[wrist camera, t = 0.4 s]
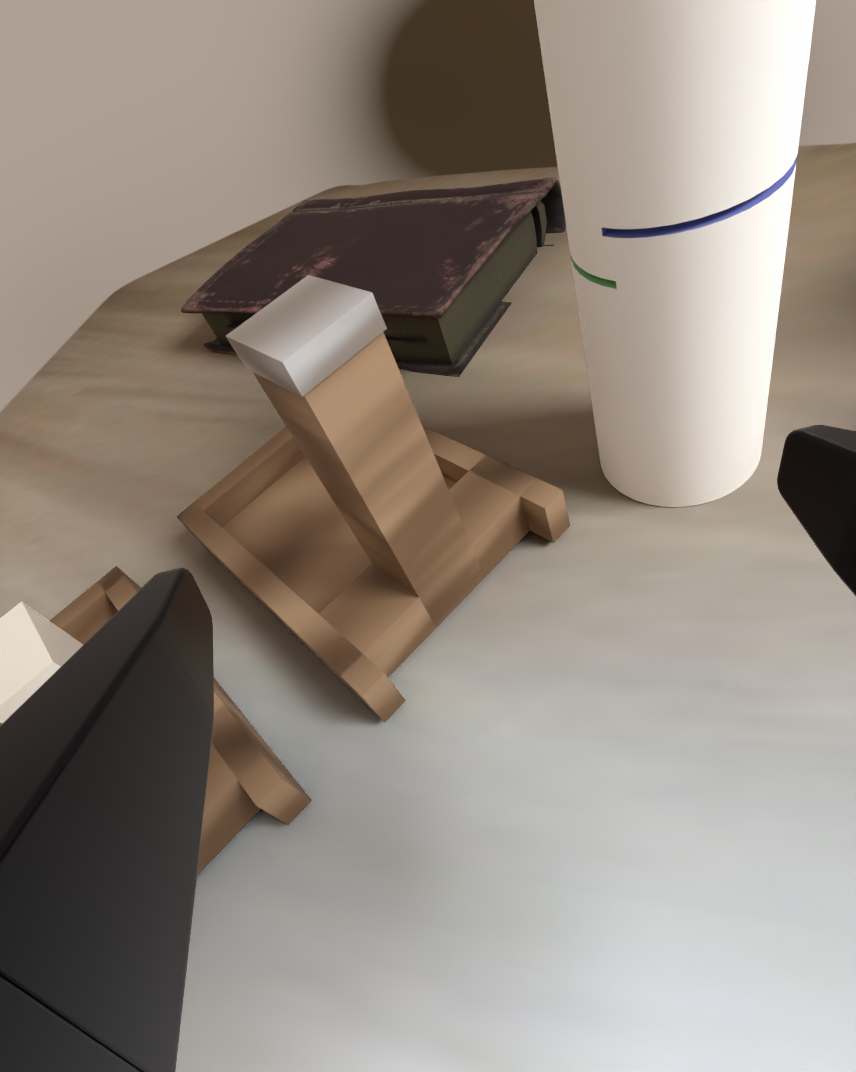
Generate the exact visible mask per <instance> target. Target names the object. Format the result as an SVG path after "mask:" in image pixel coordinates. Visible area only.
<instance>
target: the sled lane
mask: <svg viewBox="0 0 856 1072" xmlns="http://www.w3.org/2000/svg"><path fill="white" fill-rule="evenodd" d="M140 589H141V587H140V586H139V585H137V584H136V583H135V582H134V581H133V580H132V579H131V578H129V577H128V576H127V575H126V574H125V573H124V572H123V571H122V570H120V569H119V568H118V567H117V566H116V567H115V568H113V569H112V570H111V571H110V572H109V573H107V574H106V575H105V576H104V577H102V578H101V579H100V580H99V581H98V582H96V583H95V584H94V585H93V586H91V587H90V588H89V589H88V590H87V591H85V592H84V593H83V594H82V595H80V596H79V597H78V598H77V599H76V600H74V601H73V602H72V603H71V604H69V605H68V606H67V607H66V608H65V609H63V610H62V611H61V612H60V613H58V614H57V615H56V616H55V617H54V618H52V619H51V620H50V622H52V623H53V624H55V625H56V626H58V627H59V628H60V629H62V630H63V631H65V632H66V633H68V634H69V635H70V636H72V637H73V638H75V639H76V640H78V641H79V642H80V643H82V644H83V645H84V644H85V643H86V642H87V641H88V640H89V639H90V638H91V637H92V636H93V635H94V634H95V633H96V632H97V631H98V630H99V629H100V628H101V627H102V626H103V625H104V624H105V623H106V622H107V621H108V620H110V619H111V618H112V617H113V616H114V615H115V614H116V613H117V612H118V611H119V610H120V609H121V608H122V607H123V606H124V605H125V604H126V603H127V602H128V601H129V600H130V599H131V598H132V597H133V596H134V595H135V594H136V593H137V592H138V591H139V590H140ZM2 724H3V723H1V722H0V725H2ZM310 801H311V799H310V798H309V797H308V795H307V794H306V793H305V792H304V790H303V789H302V788H301V787H300V785H299V784H298V783H297V781H296V780H295V779H294V778H293V776H292V775H291V774H290V773H289V771H288V770H287V769H286V768H285V766H284V765H283V764H282V763H281V761H280V760H279V759H278V758H277V756H276V755H275V754H274V753H273V751H272V750H271V749H270V748H269V746H268V745H267V744H266V743H265V741H264V740H263V739H262V738H261V736H260V735H259V734H258V732H257V731H256V730H255V729H254V727H253V726H252V725H251V724H250V722H249V721H248V720H247V719H246V717H245V716H244V715H243V714H242V712H241V711H240V710H239V709H238V707H237V706H236V705H235V704H234V702H233V701H232V700H231V699H230V697H229V696H228V695H227V694H226V692H225V691H224V690H223V689H222V687H221V686H220V685H219V683H218V682H217V681H216V680H215V678H214V720H213V732H212V741H211V750H210V759H209V769H208V778H207V787H206V796H205V805H204V814H203V823H202V832H201V841H200V851H199V860H198V869H197V875H198V874H199V873H200V872H201V871H202V870H203V869H204V868H205V866H206V865H207V864H208V863H209V862H210V861H211V860H212V859H213V858H214V857H215V856H216V855H217V854H218V853H219V852H220V851H221V850H222V849H223V848H224V847H225V846H226V845H227V844H228V843H229V842H230V841H231V840H232V839H233V838H234V836H235V835H236V834H237V833H238V832H239V831H240V830H241V829H242V828H243V827H244V826H245V825H246V824H247V823H248V822H249V821H250V820H251V819H252V818H253V817H254V816H255V815H256V814H257V813H258V812H259V811H260V810H261V809H262V810H264V811H265V812H267V813H269V814H270V815H272V816H274V817H275V818H277V819H279V820H280V821H282V822H284V823H285V824H287V825H289V824H290V823H291V821H292V820H293V819H294V818H295V817H296V816H297V815H298V814H299V813H300V812H301V811H302V810H303V809H304V808H305V807H306V806H307V804H308V803H309V802H310Z"/></svg>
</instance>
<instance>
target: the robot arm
mask: <svg viewBox="0 0 856 1072" xmlns="http://www.w3.org/2000/svg"><path fill="white" fill-rule="evenodd" d="M777 484H778V489H779V491H780V494H781V495H782V497H783V498H784V500H785V501H786V503H787V504H788V506H789V507H790V508H791V510H792V511H793V513H794V514H795V516H796V517H797V519H798V520H799V521H800V523H801V524H802V526H803V527H804V529H805V530H806V532H807V533H808V534H809V536H810V537H811V539H812V540H813V542H814V543H815V545H816V546H817V548H818V549H819V550H820V552H821V553H822V555H823V556H824V558H825V559H826V560H827V562H828V563H829V564H830V566H831V567H832V568H833V570H834V571H835V572H836V573H837V575H838V576H839V577H840V578H841V580H842V581H843V582H844V583H845V584H846V585H847V587H848V588H849V589H850V590H851V591H852V592H853V593H854V595H855V596H856V431H851V430H845V429H840V428H835V427H830V426H824V425H814V426H810V427H805V428H801V429H797V430H794V431H792V432H791V433H789V435H788V436H787V438H786V440H785V444H784V449H783V453H782V458H781V463H780V468H779V472H778V477H777ZM213 720H214V677H213V625H212V618H211V614H210V611H209V608H208V606H207V604H206V602H205V600H204V598H203V596H202V594H201V592H200V590H199V588H198V586H197V584H196V582H195V580H194V578H193V576H192V574H191V573H190V572H189V571H188V570H187V569H185V568H179V569H174V570H170V571H165V572H161V573H158V574H156V575H155V576H154V577H153V578H152V579H151V580H150V581H149V582H147V583H146V584H145V585H144V586H143V587H142V588H141V589H140V590H139V591H138V592H137V593H136V594H135V595H134V596H133V597H132V598H131V599H130V600H129V601H128V602H127V603H126V604H125V605H124V606H123V607H122V608H121V609H120V610H119V611H118V612H117V613H116V614H115V615H114V616H113V617H112V618H111V619H110V620H108V621H107V622H106V623H105V624H104V625H103V626H102V627H101V628H100V629H99V630H98V631H97V632H96V633H95V634H94V635H93V636H92V637H91V638H90V639H89V640H88V641H87V642H86V643H85V644H84V645H83V646H82V647H81V648H80V649H79V650H78V651H77V652H76V653H75V654H74V655H72V656H71V657H70V658H69V659H68V660H67V661H66V662H65V663H64V664H63V665H62V666H61V667H60V668H59V669H58V670H57V671H56V672H55V673H54V674H53V675H52V676H51V677H50V678H49V679H48V680H47V681H46V682H45V683H44V684H43V685H42V686H41V687H40V688H39V689H38V690H36V691H35V692H34V693H33V694H32V695H31V696H30V697H29V698H28V699H27V700H26V701H25V702H24V703H23V704H22V705H21V706H20V707H19V708H18V709H17V710H16V711H15V712H14V713H13V714H12V715H11V716H10V717H9V718H8V719H7V720H6V721H5V722H4V723H3V724H2V725H0V1072H175V1069H176V1060H177V1051H178V1042H179V1033H180V1023H181V1014H182V1005H183V996H184V987H185V978H186V969H187V960H188V951H189V942H190V932H191V923H192V914H193V905H194V896H195V887H196V878H197V869H198V860H199V851H200V841H201V832H202V823H203V814H204V805H205V796H206V787H207V778H208V769H209V759H210V750H211V741H212V732H213Z"/></svg>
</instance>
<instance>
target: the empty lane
mask: <svg viewBox="0 0 856 1072" xmlns="http://www.w3.org/2000/svg"><path fill="white" fill-rule="evenodd" d="M386 329H387V327H386V325H385V323H384V320H383V318H382V315H381V313H380V310H379V308H378V305H377V303H376V300H375V298H374V295H373V293H372V292H369V291H365V290H361V289H358V288H354V287H350V286H347V285H343V284H340V283H336V282H332V281H329V280H325V279H321V278H318V277H314V276H310V275H308V276H306V277H305V278H304V279H302V280H301V281H299V282H298V283H297V284H295V285H294V286H293V287H291V288H290V289H289V290H287V291H286V292H285V293H283V294H282V295H280V296H279V297H278V298H276V299H275V300H274V301H272V302H271V303H270V304H268V305H267V306H265V307H264V308H263V309H261V310H260V311H259V312H257V313H256V314H255V315H253V316H252V317H251V318H249V319H248V320H246V321H245V322H244V323H242V324H241V325H240V326H238V327H237V328H236V329H234V330H233V331H232V332H230V333H229V334H227V335H226V338H227V339H228V341H229V342H230V344H231V346H232V347H233V349H234V350H235V352H236V354H237V355H238V357H239V358H240V360H241V361H242V363H243V365H244V366H245V368H246V369H248V370H250V371H252V372H253V373H254V375H255V376H256V378H257V380H258V381H259V383H260V384H261V386H262V388H263V389H264V391H265V392H266V394H267V396H268V397H269V399H270V400H271V402H272V404H273V405H274V407H275V409H276V410H277V412H278V413H279V415H280V417H281V418H282V420H283V421H284V423H285V425H286V426H287V427H286V428H284V429H283V430H282V431H281V432H280V433H278V434H277V435H276V436H275V437H273V438H272V439H271V440H270V441H269V442H267V443H266V444H265V445H264V446H262V447H261V448H260V449H259V450H258V451H256V452H255V453H254V454H253V455H251V456H250V457H249V458H248V459H247V460H245V461H244V462H243V463H242V464H240V465H239V466H238V467H237V468H236V469H234V470H233V471H232V472H231V473H229V474H228V475H227V476H226V477H225V478H223V479H222V480H221V481H220V482H218V483H217V484H216V485H215V486H214V487H212V488H211V489H210V490H209V491H207V492H206V493H205V494H204V495H203V496H201V497H200V498H199V499H198V500H196V501H195V502H194V503H193V504H192V505H190V506H189V507H188V508H187V509H185V510H184V511H183V512H182V513H181V514H179V515H178V516H177V518H178V519H179V520H180V521H181V522H182V523H183V524H184V525H185V526H186V527H187V529H188V530H189V531H190V532H191V533H192V534H193V535H194V536H195V537H196V538H197V539H198V540H199V541H200V543H201V544H202V545H203V546H204V547H205V548H206V549H208V550H209V551H210V552H211V553H212V554H213V555H214V556H215V557H216V558H217V559H218V560H219V561H220V562H221V563H222V564H223V565H224V566H225V567H226V568H227V569H228V570H229V571H230V572H231V573H232V574H233V575H234V576H235V577H236V578H237V579H238V580H239V581H240V582H241V583H242V584H243V585H244V586H245V587H246V588H247V589H248V590H249V591H251V592H252V593H253V594H254V595H255V596H256V597H257V598H258V599H259V600H260V601H261V602H262V603H263V604H264V605H265V606H266V607H267V608H268V609H269V610H270V611H271V612H272V613H273V614H274V615H275V616H276V617H277V618H278V619H279V620H280V621H281V622H282V623H283V624H284V625H285V626H286V627H287V628H288V629H289V630H290V631H291V632H292V633H294V634H295V635H296V636H297V637H298V638H299V639H300V640H301V641H302V642H303V643H304V644H305V645H306V646H307V647H308V648H309V649H310V650H311V651H312V652H313V653H314V654H315V655H316V656H317V657H318V658H319V659H320V660H321V661H322V662H323V663H324V664H325V665H326V666H327V667H328V668H329V669H330V670H331V671H332V672H333V673H334V674H335V675H337V676H338V677H339V678H340V679H341V680H342V681H343V682H344V683H345V684H346V685H347V686H348V687H349V688H350V689H351V690H352V691H353V692H354V693H355V694H356V695H357V696H358V697H359V698H360V699H361V700H362V701H363V702H364V703H365V704H366V705H367V706H368V707H369V708H370V709H371V710H372V711H373V712H374V713H375V714H376V715H377V716H378V717H380V718H381V719H382V720H383V721H384V722H386V721H387V720H388V718H389V717H390V716H391V715H392V714H393V713H394V712H395V711H396V710H397V709H398V708H399V707H400V706H401V705H402V704H403V703H404V701H405V699H404V698H403V697H402V695H401V694H400V693H399V691H398V690H397V689H396V687H395V686H394V685H393V684H392V682H391V681H390V680H389V678H388V677H389V676H390V675H391V674H392V673H393V672H394V671H395V670H396V669H397V668H398V667H399V666H400V665H401V664H402V663H403V661H404V660H405V659H406V658H407V657H408V656H409V655H410V654H411V653H412V652H413V651H414V650H415V649H416V648H417V647H418V646H419V645H420V644H421V643H422V642H423V641H424V640H425V639H426V638H427V637H428V636H429V635H430V634H431V632H432V631H433V630H434V629H435V628H436V627H437V626H438V625H439V624H440V623H441V622H442V621H443V620H444V619H445V618H446V617H447V616H448V615H449V614H450V613H451V612H452V611H453V610H454V609H455V608H456V607H457V606H458V605H459V603H460V602H461V601H462V600H463V599H464V598H465V597H466V596H467V595H468V594H469V593H470V592H471V591H472V590H473V589H474V588H475V587H476V586H477V585H478V584H479V583H480V582H481V581H482V580H483V579H484V578H485V577H486V576H487V574H488V573H489V572H490V571H491V570H492V569H493V568H494V567H495V566H496V565H497V564H498V563H499V562H500V561H501V560H502V559H503V558H504V557H505V556H506V555H507V554H508V553H509V552H510V551H511V550H512V549H513V548H514V547H515V545H516V544H517V543H518V542H519V541H520V540H521V539H522V538H523V537H524V536H525V535H526V534H527V533H528V532H529V531H532V532H534V533H536V534H538V535H540V536H541V537H543V538H545V539H547V540H549V541H551V542H553V543H554V542H555V541H556V540H557V539H558V538H559V537H560V536H561V535H562V534H563V532H564V531H565V530H566V529H567V528H568V527H569V526H570V522H569V518H568V513H567V508H566V504H565V499H564V494H563V490H561V489H559V488H557V487H555V486H553V485H550V484H548V483H546V482H544V481H542V480H539V479H537V478H535V477H533V476H531V475H529V474H526V473H524V472H522V471H520V470H518V469H516V468H513V467H511V466H509V465H507V464H505V463H502V462H500V461H498V460H496V459H494V458H492V457H489V456H487V455H485V454H483V453H481V452H479V451H476V450H474V449H472V448H470V447H468V446H465V445H463V444H461V443H459V442H457V441H455V440H452V439H450V438H448V437H446V436H444V435H442V434H439V433H437V432H435V431H433V430H431V429H428V428H426V427H424V426H422V424H421V422H420V419H419V417H418V415H417V412H416V410H415V407H414V405H413V402H412V400H411V398H410V395H409V393H408V390H407V388H406V385H405V383H404V381H403V378H402V376H401V373H400V371H399V369H398V366H397V364H396V361H395V359H394V356H393V354H392V352H391V349H390V347H389V344H388V342H387V339H386V337H385V335H384V332H383V331H385V330H386Z"/></svg>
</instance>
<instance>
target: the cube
mask: <svg viewBox="0 0 856 1072" xmlns="http://www.w3.org/2000/svg"><path fill="white" fill-rule="evenodd" d="M82 646H83V644H82V643H80V642H79V641H78V640H76V639H75V638H73V637H72V636H70V635H69V634H68V633H66V632H65V631H63V630H62V629H60V628H59V627H58V626H56V625H55V624H53V623H52V622H50V621H49V620H48V619H46V618H45V617H43V616H42V615H40V614H39V613H38V612H36V611H35V610H33V609H32V608H30V607H29V606H28V605H26V604H25V603H23V602H20V603H19V604H18V605H17V606H15V607H14V608H13V609H12V610H10V611H9V612H8V613H7V614H5V615H4V616H3V617H2V618H0V722H1V723H4V722H5V721H6V720H7V719H8V718H9V717H10V716H11V715H12V714H13V713H14V712H15V711H16V710H17V709H18V708H19V707H20V706H21V705H22V704H23V703H24V702H25V701H26V700H27V699H28V698H29V697H30V696H31V695H32V694H33V693H34V692H35V691H36V690H38V689H39V688H40V687H41V686H42V685H43V684H44V683H45V682H46V681H47V680H48V679H49V678H50V677H51V676H52V675H53V674H54V673H55V672H56V671H57V670H58V669H59V668H60V667H61V666H62V665H63V664H64V663H65V662H66V661H67V660H68V659H69V658H70V657H71V656H72V655H74V654H75V653H76V652H77V651H78V650H79V649H80V648H81V647H82Z"/></svg>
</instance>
